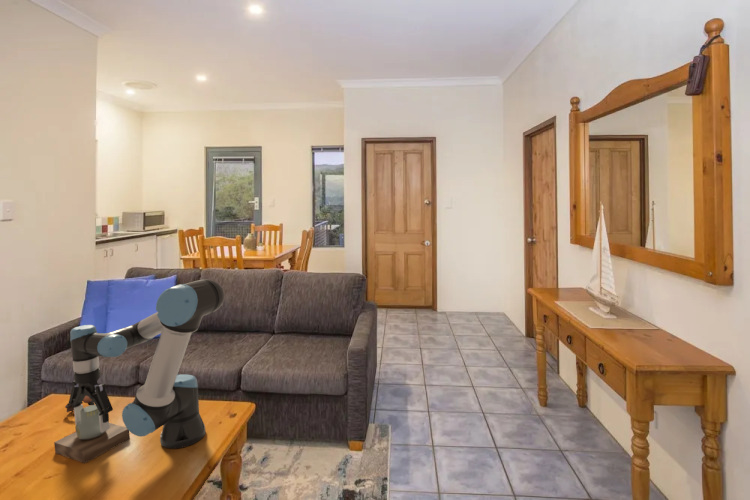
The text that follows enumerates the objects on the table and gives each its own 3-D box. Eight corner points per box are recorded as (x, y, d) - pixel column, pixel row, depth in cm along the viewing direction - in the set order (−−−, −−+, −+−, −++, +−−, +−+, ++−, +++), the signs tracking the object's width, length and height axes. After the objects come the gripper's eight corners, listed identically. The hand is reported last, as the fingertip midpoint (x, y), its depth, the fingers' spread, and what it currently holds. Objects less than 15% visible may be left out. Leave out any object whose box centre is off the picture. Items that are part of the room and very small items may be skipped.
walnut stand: (129, 438, 152) (128, 428, 151) (85, 463, 137) (83, 452, 137) (101, 430, 158) (100, 420, 157) (55, 453, 143) (54, 442, 143)
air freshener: (74, 434, 148) (72, 407, 147) (101, 425, 154) (99, 399, 153) (82, 445, 140) (80, 418, 139) (110, 435, 146) (108, 408, 145)
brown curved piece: (88, 418, 168) (74, 403, 166) (71, 426, 170) (57, 412, 168) (107, 397, 180) (94, 384, 177) (91, 405, 182) (78, 392, 179)
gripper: (121, 370, 143) (126, 428, 145) (75, 361, 153) (80, 415, 155) (99, 378, 136) (105, 439, 138) (53, 368, 146) (59, 425, 148)
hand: (92, 427), depth 147 cm, fingers open, 13 cm apart
